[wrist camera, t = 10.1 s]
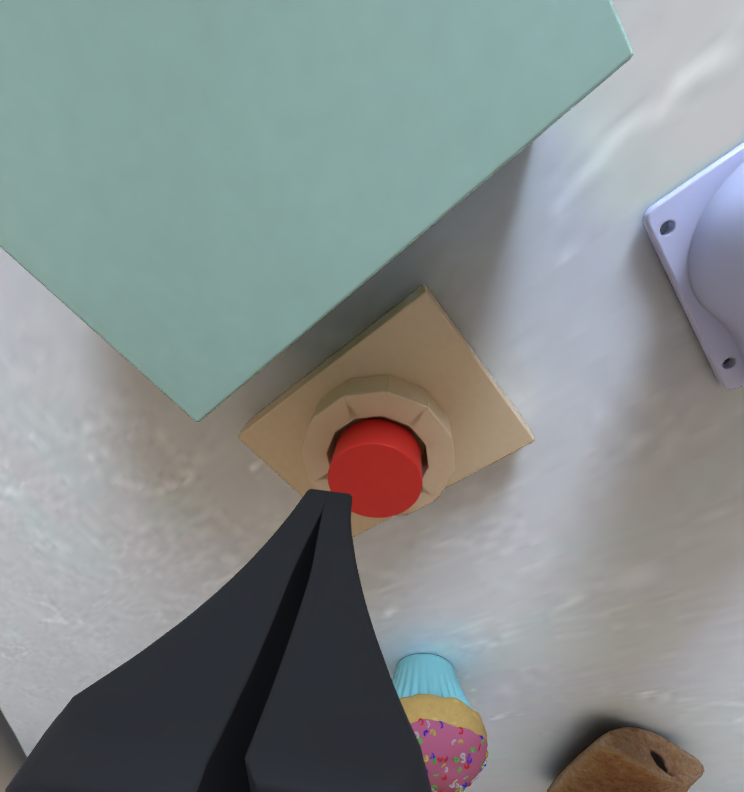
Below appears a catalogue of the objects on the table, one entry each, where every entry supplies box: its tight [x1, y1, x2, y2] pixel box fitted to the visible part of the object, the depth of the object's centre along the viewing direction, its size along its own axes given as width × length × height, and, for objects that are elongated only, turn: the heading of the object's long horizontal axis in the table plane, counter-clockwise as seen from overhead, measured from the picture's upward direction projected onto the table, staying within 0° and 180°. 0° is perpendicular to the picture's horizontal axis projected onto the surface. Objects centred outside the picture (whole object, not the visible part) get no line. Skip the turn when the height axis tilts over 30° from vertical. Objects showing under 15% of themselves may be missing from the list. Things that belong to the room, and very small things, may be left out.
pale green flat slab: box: [0, 0, 633, 422], centre depth 9 cm, size 15×12×1 cm
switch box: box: [238, 285, 535, 537], centre depth 18 cm, size 9×12×4 cm
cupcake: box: [392, 654, 488, 792], centre depth 25 cm, size 9×8×12 cm
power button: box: [328, 419, 423, 518], centre depth 16 cm, size 4×4×2 cm
